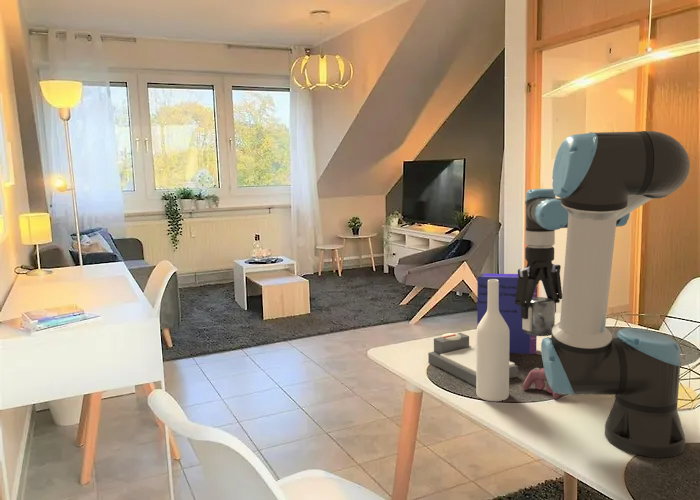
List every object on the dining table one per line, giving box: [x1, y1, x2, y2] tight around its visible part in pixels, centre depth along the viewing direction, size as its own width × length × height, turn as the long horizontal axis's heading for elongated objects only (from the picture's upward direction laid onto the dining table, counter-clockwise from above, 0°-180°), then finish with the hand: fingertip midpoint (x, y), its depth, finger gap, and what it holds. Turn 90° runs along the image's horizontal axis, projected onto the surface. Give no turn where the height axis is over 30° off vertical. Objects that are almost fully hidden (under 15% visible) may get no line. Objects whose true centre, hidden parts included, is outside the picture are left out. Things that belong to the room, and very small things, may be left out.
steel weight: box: [523, 296, 554, 337], centre depth 159 cm, size 8×8×9 cm
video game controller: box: [522, 367, 562, 400], centre depth 148 cm, size 10×5×7 cm, turn 43°
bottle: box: [475, 279, 510, 402], centre depth 145 cm, size 8×8×30 cm
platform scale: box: [428, 332, 518, 387], centre depth 165 cm, size 23×14×8 cm, turn 28°
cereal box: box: [476, 273, 539, 355], centre depth 177 cm, size 17×5×24 cm, turn 76°
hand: (538, 327), depth 160 cm, fingers closed on steel weight, 8 cm apart
